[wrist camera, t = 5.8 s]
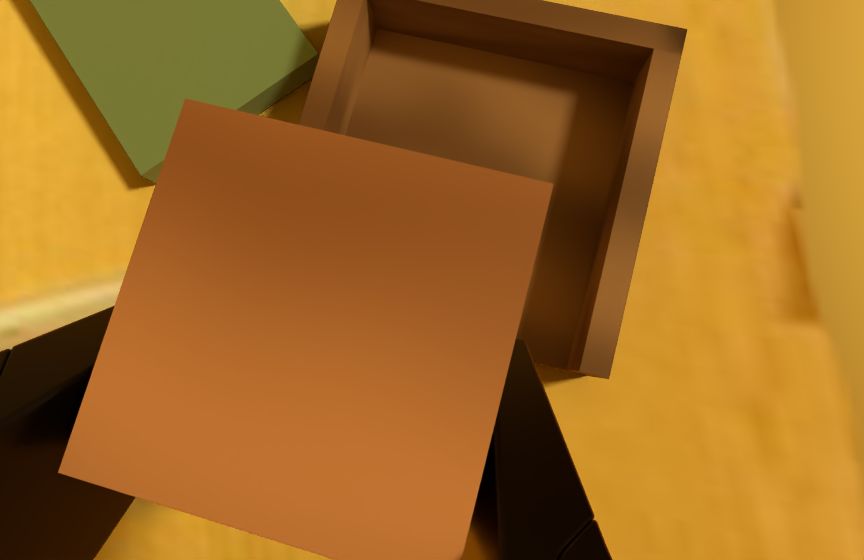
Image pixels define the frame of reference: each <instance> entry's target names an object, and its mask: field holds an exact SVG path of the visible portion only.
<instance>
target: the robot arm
mask: <svg viewBox="0 0 864 560" xmlns="http://www.w3.org/2000/svg"><path fill="white" fill-rule="evenodd" d="M113 309H114V306H112V307H110V308H107V309H105V310H103V311H100V312H98V313H95V314H93V315H90V316H88V317H85V318H83V319H80V320H78V321H75V322H73V323H70V324H68V325H65V326H63V327H60V328H58V329H55V330H53V331H51V332H48V333H46V334H43V335H41V336H38V337H36V338H33V339H31V340H28V341H26V342H23V343H21V344H18V345H16V346H14V347H13V348H12V350H10V349H6V350H3V351H1V352H0V560H93V559H94V558H95V556H96V555H97V554H98V552H99V551H100V549H101V548H102V546H103V545H104V543H105V542H106V540H107V539H108V537H109V536H110V534H111V533H112V531H113V530H114V528H115V527H116V525H117V524H118V523H119V521H120V520H121V518H122V517H123V515H124V514H125V512H126V511H127V509H128V508H129V506H130V505H131V503H132V502H133V500H134V499H135V497H134V496H131V495H128V494H124V493H121V492H118V491H115V490H112V489H109V488H105V487H102V486H99V485H96V484H93V483H89V482H86V481H83V480H80V479H77V478H74V477H70V476H67V475H64V474H61V473H58V471H59V468H60V465H61V462H62V459H63V457H64V454H65V451H66V448H67V445H68V442H69V439H70V436H71V433H72V430H73V427H74V424H75V421H76V418H77V415H78V412H79V409H80V406H81V404H82V401H83V398H84V395H85V392H86V389H87V386H88V383H89V380H90V377H91V374H92V371H93V368H94V365H95V362H96V359H97V356H98V353H99V351H100V348H101V345H102V342H103V339H104V336H105V333H106V330H107V327H108V324H109V321H110V318H111V315H112V312H113ZM593 519H594V513H593V511H592V508H591V506H590V503H589V501H588V498H587V496H586V493H585V491H584V488H583V486H582V483H581V481H580V478H579V475H578V473H577V470H576V468H575V465H574V463H573V460H572V458H571V455H570V453H569V450H568V448H567V445H566V442H565V440H564V437H563V435H562V432H561V430H560V427H559V425H558V422H557V420H556V417H555V415H554V412H553V409H552V407H551V404H550V402H549V399H548V397H547V394H546V392H545V389H544V387H543V384H542V382H541V379H540V377H539V374H538V371H537V369H536V366H535V364H534V361H533V359H532V356H531V354H530V351H529V349H528V346H527V344H526V342H525V341H523V340H520V339H515V344H514V348H513V352H512V356H511V360H510V364H509V368H508V372H507V376H506V380H505V384H504V388H503V392H502V396H501V400H500V405H499V409H498V413H497V417H496V421H495V425H494V429H493V433H492V437H491V441H490V445H489V449H488V453H487V457H486V462H485V466H484V470H483V474H482V478H481V482H480V486H479V490H478V494H477V498H476V502H475V506H474V510H473V514H472V519H471V523H470V527H469V531H468V535H467V539H466V543H465V547H464V551H463V555H462V559H461V560H612V558H611V555H610V553H609V551H608V548H607V546H606V544H605V541H604V538H603V536H602V533H601V531H600V528H599V526H598V523H597V521H596V520H593Z"/></svg>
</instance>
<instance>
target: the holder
mask: <svg viewBox="0 0 864 560" xmlns="http://www.w3.org/2000/svg"><path fill="white" fill-rule="evenodd" d="M686 33H687V29H683V28H678V27H673V26H668V25H663V24H658V23H653V22H648V21H643V20H638V19H633V18H628V17H623V16H618V15H613V14H608V13H603V12H598V11H593V10H588V9H583V8H578V7H573V6H568V5H563V4H558V3H553V2H548V1H543V0H337V1H336V5H335V8H334V11H333V14H332V18H331V21H330V24H329V27H328V31H327V34H326V37H325V40H324V43H323V47H322V50H321V53H320V56H319V60H318V63H317V66H316V69H315V72H314V76H313V79H312V82H311V85H310V89H309V92H308V95H307V98H306V101H305V105H304V108H303V111H302V114H301V118H300V121H299V124H298V125H302V126H306V127H311V128H315V129H319V130H324V131H328V132H332V133H337V134H341V135H345V136H350V137H354V138H358V139H363V140H367V141H371V142H375V143H380V144H384V145H388V146H393V147H397V148H401V149H406V150H410V151H414V152H419V153H423V154H427V155H432V156H436V157H440V158H445V159H449V160H453V161H458V162H462V163H466V164H470V165H475V166H479V167H483V168H488V169H492V170H496V171H501V172H505V173H509V174H514V175H518V176H522V177H527V178H531V179H535V180H540V181H544V182H548V183H552V184H554V185H553V189H552V193H551V197H550V201H549V205H548V209H547V213H546V217H545V221H544V225H543V230H542V234H541V238H540V242H539V246H538V250H537V254H536V258H535V262H534V266H533V270H532V274H531V278H530V282H529V287H528V291H527V295H526V299H525V303H524V307H523V311H522V315H521V319H520V323H519V327H518V331H517V335H516V339H520V340H523V341H525V342H526V344H527V346H528V349H529V351H530V354H531V356H532V359H533V361H534V362H538V363H542V364H545V365H549V366H553V367H557V368H560V369H564V370H568V371H572V372H575V373H579V374H583V375H587V376H592V377H599V378H605V379H609V376H610V372H611V367H612V363H613V358H614V354H615V350H616V345H617V341H618V336H619V332H620V327H621V323H622V318H623V314H624V309H625V305H626V300H627V296H628V292H629V287H630V283H631V278H632V274H633V269H634V265H635V260H636V256H637V251H638V247H639V242H640V238H641V234H642V229H643V225H644V220H645V216H646V211H647V207H648V202H649V198H650V193H651V189H652V184H653V180H654V176H655V171H656V167H657V162H658V158H659V153H660V149H661V144H662V140H663V135H664V131H665V126H666V122H667V118H668V113H669V109H670V104H671V100H672V95H673V91H674V86H675V82H676V77H677V73H678V68H679V64H680V60H681V55H682V51H683V46H684V42H685V37H686Z"/></svg>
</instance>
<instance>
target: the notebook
mask: <svg viewBox="0 0 864 560" xmlns="http://www.w3.org/2000/svg"><path fill="white" fill-rule="evenodd" d="M30 1H31V3H32V4H33V6H34V8H35V9H36V11H37V12H38V14H39V16H40V17H41V19H42V20H43V22H44V23H45V25H46V27H47V28H48V30H49V31H50V33H51V35H52V36H53V38H54V39H55V41H56V42H57V44H58V46H59V47H60V49H61V50H62V52H63V53H64V55H65V57H66V58H67V60H68V61H69V63H70V65H71V66H72V68H73V69H74V71H75V72H76V74H77V76H78V77H79V79H80V80H81V82H82V83H83V85H84V87H85V88H86V90H87V91H88V93H89V95H90V96H91V98H92V99H93V101H94V102H95V104H96V106H97V107H98V109H99V110H100V112H101V114H102V115H103V117H104V118H105V120H106V121H107V123H108V125H109V126H110V128H111V129H112V131H113V132H114V134H115V136H116V137H117V139H118V140H119V142H120V144H121V145H122V147H123V148H124V150H125V151H126V153H127V155H128V156H129V158H130V159H131V161H132V162H133V164H134V166H135V167H136V169H137V170H138V172H139V174H140V175H141V176H143V177H144V178H146V179H148V180H150V181H152V182H153V183H155V184H156V183H157V180H158V177H159V174H160V171H161V168H162V165H163V162H164V159H165V156H166V153H167V150H168V147H169V144H170V141H171V139H172V136H173V133H174V130H175V127H176V124H177V121H178V118H179V115H180V112H181V109H182V106H183V103H184V100H185V98H186V99H190V100H194V101H198V102H203V103H207V104H211V105H216V106H220V107H224V108H229V109H233V110H237V111H242V112H246V113H250V114H255V115H259V114H260V113H261V112H263V111H264V110H266V109H267V108H269V107H270V106H272V105H273V104H275V103H276V102H277V101H279V100H280V99H282V98H283V97H285V96H286V95H288V94H289V93H291V92H292V91H293V90H295V89H296V88H298V87H299V86H301V85H302V84H304V83H305V82H307V81H308V80H309V79H311V78H312V77H313V76H314V72H315V69H316V66H317V63H318V60H319V54H318V53H317V51H316V50H315V48H314V47H313V46H312V44H311V43H310V42H309V40H308V39H307V38H306V36H305V35H304V33H303V32H302V31H301V29H300V28H299V27H298V25H297V24H296V22H295V21H294V20H293V18H292V17H291V16H290V14H289V13H288V11H287V10H286V9H285V7H284V6H283V5H282V3H281V2H280V0H30Z"/></svg>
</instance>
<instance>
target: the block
mask: <svg viewBox="0 0 864 560" xmlns="http://www.w3.org/2000/svg"><path fill="white" fill-rule="evenodd" d="M553 185H554V184H552V183H548V182H544V181H540V180H535V179H531V178H527V177H522V176H518V175H514V174H509V173H505V172H501V171H496V170H492V169H488V168H483V167H479V166H475V165H470V164H466V163H462V162H458V161H453V160H449V159H445V158H440V157H436V156H432V155H427V154H423V153H419V152H414V151H410V150H406V149H401V148H397V147H393V146H388V145H384V144H380V143H375V142H371V141H367V140H363V139H358V138H354V137H350V136H345V135H341V134H337V133H332V132H328V131H324V130H319V129H315V128H311V127H306V126H302V125H298V124H293V123H289V122H285V121H280V120H276V119H272V118H268V117H263V116H259V115H255V114H250V113H246V112H242V111H237V110H233V109H229V108H224V107H220V106H216V105H211V104H207V103H203V102H198V101H194V100H190V99H186V98H185V100H184V103H183V106H182V109H181V112H180V115H179V118H178V121H177V124H176V127H175V130H174V133H173V136H172V139H171V141H170V144H169V147H168V150H167V153H166V156H165V159H164V162H163V165H162V168H161V171H160V174H159V177H158V180H157V183H156V186H155V189H154V192H153V194H152V197H151V200H150V203H149V206H148V209H147V212H146V215H145V218H144V221H143V224H142V227H141V230H140V233H139V236H138V239H137V242H136V245H135V247H134V250H133V253H132V256H131V259H130V262H129V265H128V268H127V271H126V274H125V277H124V280H123V283H122V286H121V289H120V292H119V295H118V298H117V300H116V303H115V306H114V309H113V312H112V315H111V318H110V321H109V324H108V327H107V330H106V333H105V336H104V339H103V342H102V345H101V348H100V351H99V353H98V356H97V359H96V362H95V365H94V368H93V371H92V374H91V377H90V380H89V383H88V386H87V389H86V392H85V395H84V398H83V401H82V404H81V406H80V409H79V412H78V415H77V418H76V421H75V424H74V427H73V430H72V433H71V436H70V439H69V442H68V445H67V448H66V451H65V454H64V457H63V459H62V462H61V465H60V468H59V471H58V473H61V474H64V475H67V476H70V477H74V478H77V479H80V480H83V481H86V482H89V483H93V484H96V485H99V486H102V487H105V488H109V489H112V490H115V491H118V492H121V493H124V494H128V495H131V496H134V497H137V498H140V499H144V500H147V501H150V502H153V503H156V504H160V505H163V506H166V507H169V508H172V509H175V510H179V511H182V512H185V513H188V514H191V515H195V516H198V517H201V518H204V519H207V520H210V521H214V522H217V523H220V524H223V525H226V526H230V527H233V528H236V529H239V530H242V531H246V532H249V533H252V534H255V535H258V536H261V537H265V538H268V539H271V540H274V541H277V542H281V543H284V544H287V545H290V546H293V547H296V548H300V549H303V550H306V551H309V552H312V553H316V554H319V555H322V556H325V557H328V558H332V559H335V560H461V559H462V555H463V551H464V547H465V543H466V539H467V535H468V531H469V527H470V523H471V519H472V514H473V510H474V506H475V502H476V498H477V494H478V490H479V486H480V482H481V478H482V474H483V470H484V466H485V462H486V457H487V453H488V449H489V445H490V441H491V437H492V433H493V429H494V425H495V421H496V417H497V413H498V409H499V405H500V400H501V396H502V392H503V388H504V384H505V380H506V376H507V372H508V368H509V364H510V360H511V356H512V352H513V348H514V344H515V339H516V335H517V331H518V327H519V323H520V319H521V315H522V311H523V307H524V303H525V299H526V295H527V291H528V287H529V282H530V278H531V274H532V270H533V266H534V262H535V258H536V254H537V250H538V246H539V242H540V238H541V234H542V230H543V225H544V221H545V217H546V213H547V209H548V205H549V201H550V197H551V193H552V189H553Z"/></svg>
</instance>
